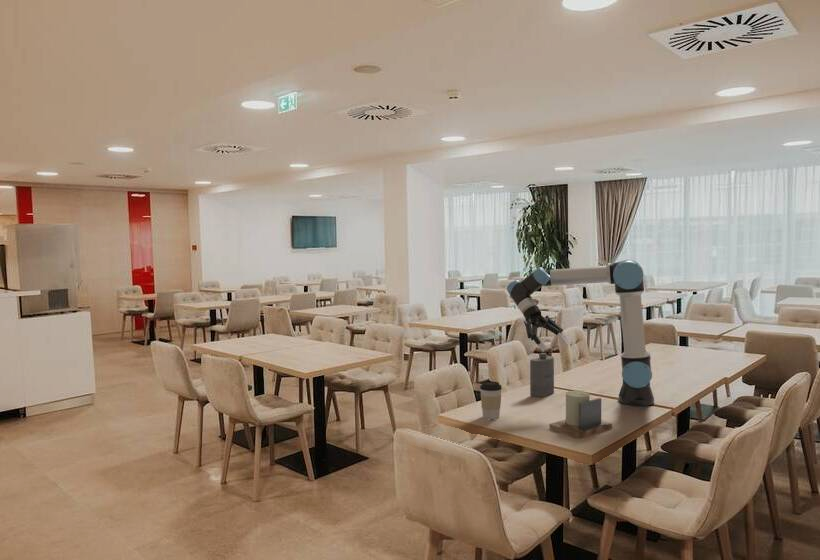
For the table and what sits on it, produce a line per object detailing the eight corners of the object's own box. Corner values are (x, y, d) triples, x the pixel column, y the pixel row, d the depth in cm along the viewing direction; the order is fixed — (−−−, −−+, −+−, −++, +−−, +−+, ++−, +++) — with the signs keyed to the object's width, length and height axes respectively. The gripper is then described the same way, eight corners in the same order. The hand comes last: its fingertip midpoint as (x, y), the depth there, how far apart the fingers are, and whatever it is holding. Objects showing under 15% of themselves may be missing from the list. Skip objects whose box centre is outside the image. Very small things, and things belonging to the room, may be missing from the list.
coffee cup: (505, 419, 240) (505, 383, 239) (485, 421, 237) (485, 385, 236) (496, 413, 248) (496, 378, 247) (476, 415, 246) (476, 380, 245)
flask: (538, 398, 270) (537, 356, 269) (528, 396, 274) (527, 354, 273) (557, 393, 280) (557, 352, 278) (547, 390, 284) (547, 350, 283)
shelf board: (583, 419, 237) (583, 414, 237) (612, 428, 226) (612, 423, 226) (549, 428, 226) (549, 423, 226) (578, 438, 215) (578, 433, 215)
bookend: (599, 423, 226) (599, 398, 225) (605, 425, 224) (605, 399, 223) (578, 429, 219) (578, 403, 219) (585, 431, 217) (585, 405, 216)
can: (583, 427, 221) (583, 396, 220) (561, 423, 227) (561, 392, 226) (593, 421, 228) (593, 392, 227) (571, 417, 234) (572, 388, 233)
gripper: (544, 313, 269) (570, 349, 257) (505, 317, 255) (530, 356, 243) (553, 302, 264) (579, 339, 252) (513, 306, 250) (539, 345, 239)
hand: (555, 347), depth 248 cm, fingers open, 13 cm apart
